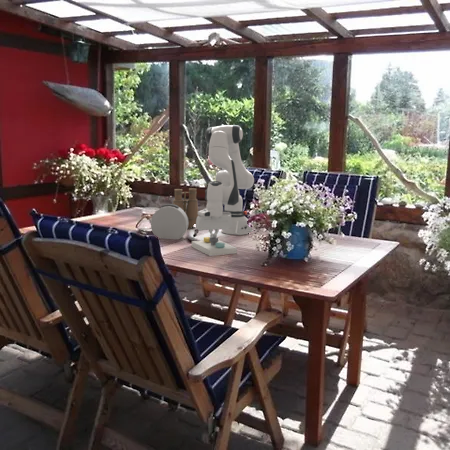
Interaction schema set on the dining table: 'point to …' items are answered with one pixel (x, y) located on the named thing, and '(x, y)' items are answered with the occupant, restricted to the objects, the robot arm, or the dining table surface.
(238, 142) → the robot arm
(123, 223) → the dining table surface
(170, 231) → the grey round slab
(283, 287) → the dining table surface
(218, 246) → the button teal
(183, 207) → the binoculars
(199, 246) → the panel
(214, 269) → the dining table surface
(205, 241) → the button mustard
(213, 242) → the button charcoal
